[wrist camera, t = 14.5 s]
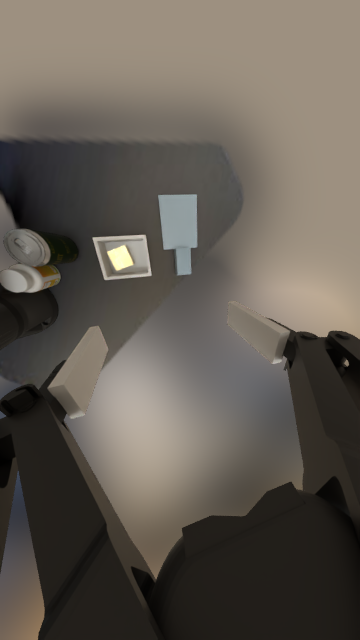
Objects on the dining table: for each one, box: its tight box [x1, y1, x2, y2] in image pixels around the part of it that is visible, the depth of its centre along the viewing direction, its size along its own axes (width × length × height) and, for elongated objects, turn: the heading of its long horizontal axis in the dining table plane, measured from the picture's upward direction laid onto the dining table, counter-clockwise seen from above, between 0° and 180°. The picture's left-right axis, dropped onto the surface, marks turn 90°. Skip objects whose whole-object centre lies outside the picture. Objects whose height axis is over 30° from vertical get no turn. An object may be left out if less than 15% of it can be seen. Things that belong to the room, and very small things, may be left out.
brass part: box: [107, 245, 135, 271], centre depth 33 cm, size 4×4×4 cm
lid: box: [158, 195, 197, 275], centre depth 34 cm, size 17×9×4 cm, turn 2°
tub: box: [93, 235, 152, 280], centre depth 32 cm, size 10×8×6 cm
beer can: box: [4, 228, 78, 267], centre depth 27 cm, size 5×5×12 cm
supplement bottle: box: [0, 263, 61, 293], centre depth 29 cm, size 5×5×10 cm
